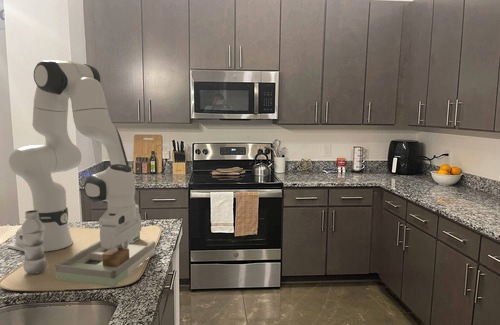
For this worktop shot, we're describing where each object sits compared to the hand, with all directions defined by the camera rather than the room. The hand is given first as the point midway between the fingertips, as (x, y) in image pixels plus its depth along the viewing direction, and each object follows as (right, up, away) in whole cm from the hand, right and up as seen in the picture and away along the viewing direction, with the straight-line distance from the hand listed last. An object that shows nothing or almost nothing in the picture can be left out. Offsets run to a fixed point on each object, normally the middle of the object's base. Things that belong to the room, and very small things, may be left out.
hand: (123, 252), depth 127 cm
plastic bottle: (-26, -5, -6) cm, 27 cm away
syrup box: (-5, -1, +24) cm, 24 cm away
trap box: (-4, -4, 0) cm, 6 cm away
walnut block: (-1, -2, -4) cm, 5 cm away
